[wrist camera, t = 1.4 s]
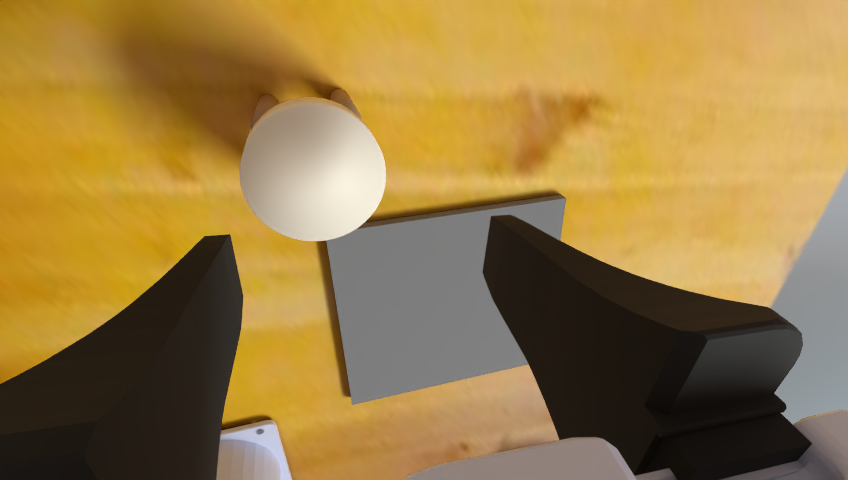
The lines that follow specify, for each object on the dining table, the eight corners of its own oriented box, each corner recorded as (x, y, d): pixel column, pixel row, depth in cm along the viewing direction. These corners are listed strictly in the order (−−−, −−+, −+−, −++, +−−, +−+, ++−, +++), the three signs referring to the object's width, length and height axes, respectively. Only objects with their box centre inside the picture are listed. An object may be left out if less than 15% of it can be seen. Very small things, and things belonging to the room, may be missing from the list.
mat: (351, 397, 30) (352, 404, 29) (324, 228, 24) (325, 233, 23) (539, 355, 33) (543, 360, 32) (560, 194, 27) (566, 198, 26)
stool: (264, 193, 22) (257, 250, 17) (239, 83, 19) (222, 113, 14) (368, 180, 23) (390, 230, 18) (358, 74, 20) (380, 100, 15)
